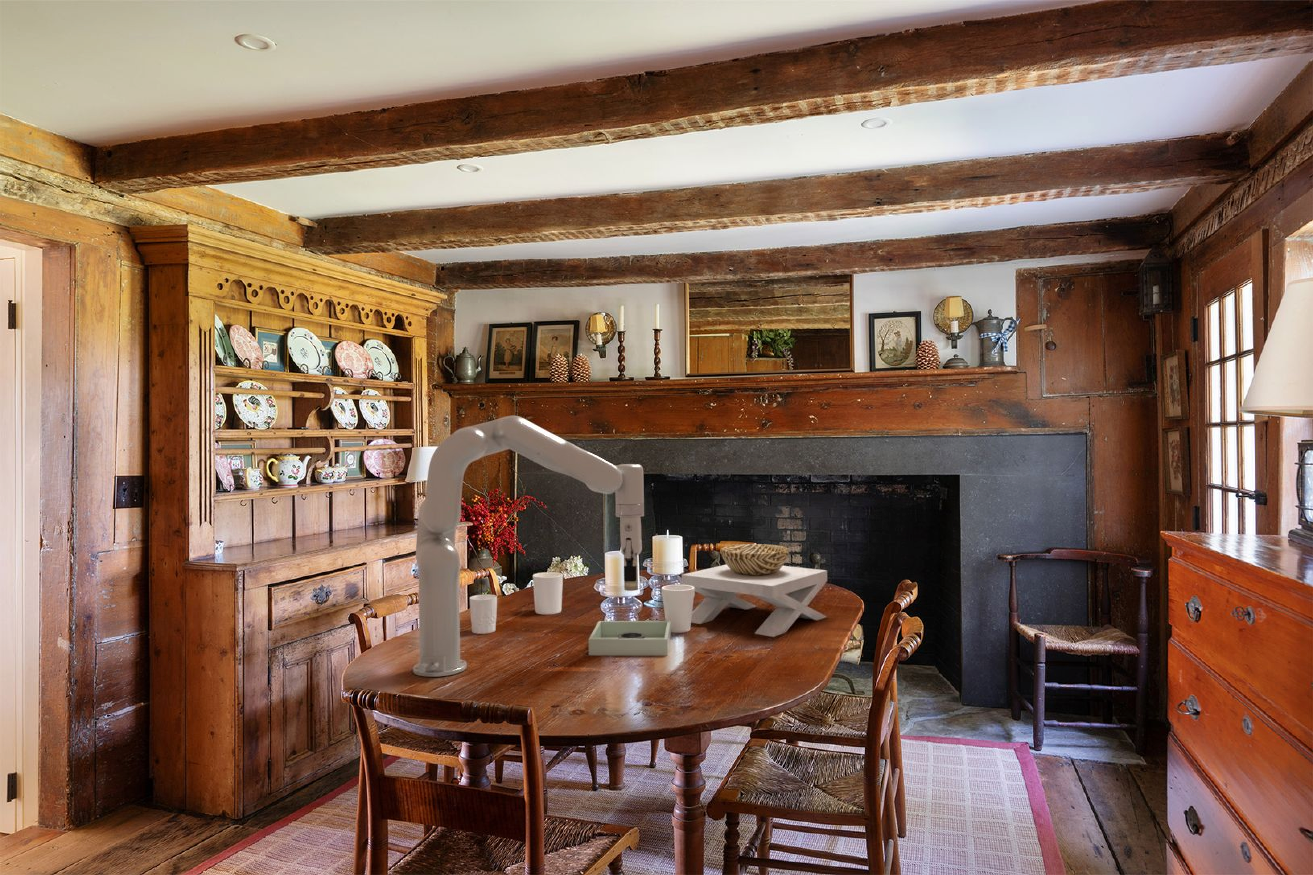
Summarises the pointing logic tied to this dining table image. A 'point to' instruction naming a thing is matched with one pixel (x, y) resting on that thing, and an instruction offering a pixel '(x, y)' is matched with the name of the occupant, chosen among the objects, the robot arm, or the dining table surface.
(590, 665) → the dining table surface
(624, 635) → the wick clip
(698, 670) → the dining table surface
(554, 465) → the robot arm
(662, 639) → the pale green rectangular tray
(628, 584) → the wick peg
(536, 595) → the candle holder
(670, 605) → the foam cup
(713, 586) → the grey stool with basket
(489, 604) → the white cup
